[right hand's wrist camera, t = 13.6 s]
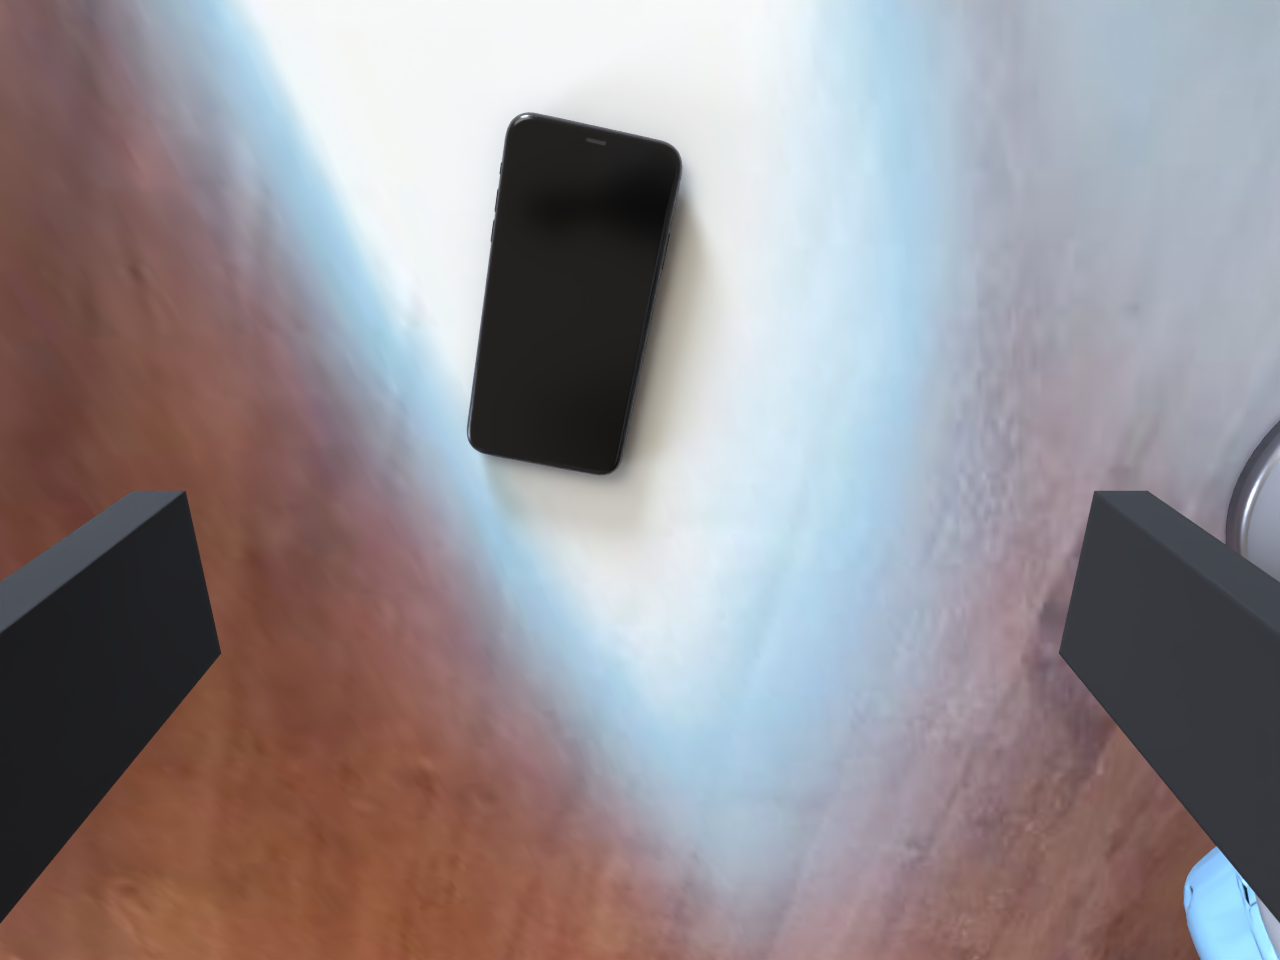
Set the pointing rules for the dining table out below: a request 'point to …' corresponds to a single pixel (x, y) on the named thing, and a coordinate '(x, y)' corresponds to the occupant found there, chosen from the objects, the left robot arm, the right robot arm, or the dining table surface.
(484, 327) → the smartphone
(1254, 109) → the dining table surface
